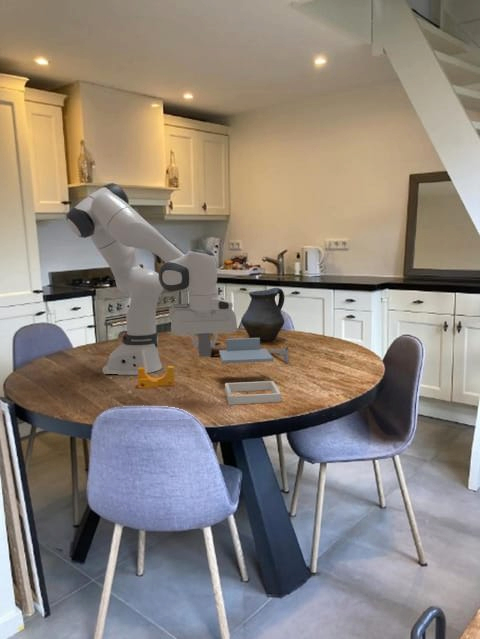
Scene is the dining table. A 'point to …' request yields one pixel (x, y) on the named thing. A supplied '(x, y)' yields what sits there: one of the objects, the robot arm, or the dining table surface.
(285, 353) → the caliper
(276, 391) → the frame
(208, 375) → the dining table surface
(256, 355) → the lid
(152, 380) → the pipe clamp
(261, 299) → the pitcher
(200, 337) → the dark grey block
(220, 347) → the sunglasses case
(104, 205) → the robot arm
